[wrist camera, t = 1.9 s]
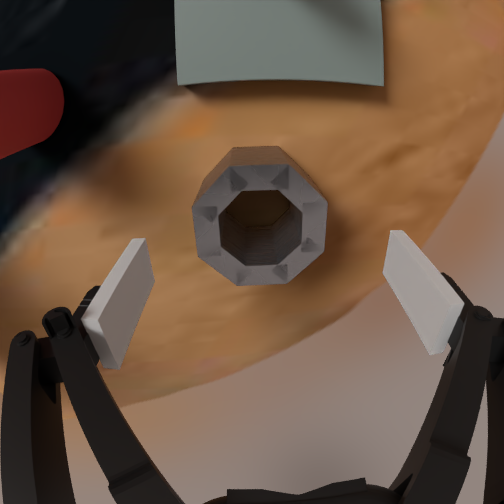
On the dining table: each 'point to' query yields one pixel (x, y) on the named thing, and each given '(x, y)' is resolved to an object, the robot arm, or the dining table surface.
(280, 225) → the ring
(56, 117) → the beer can
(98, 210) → the dining table surface
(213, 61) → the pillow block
